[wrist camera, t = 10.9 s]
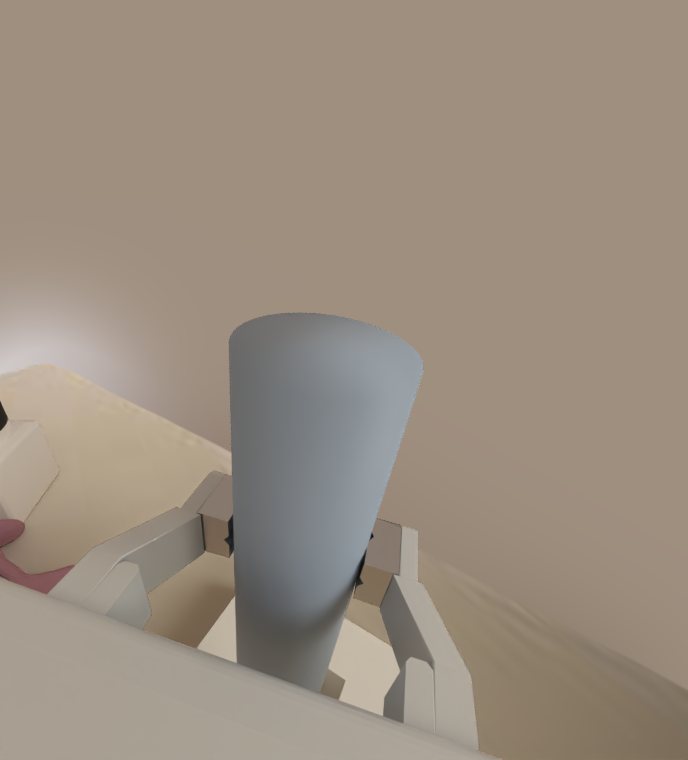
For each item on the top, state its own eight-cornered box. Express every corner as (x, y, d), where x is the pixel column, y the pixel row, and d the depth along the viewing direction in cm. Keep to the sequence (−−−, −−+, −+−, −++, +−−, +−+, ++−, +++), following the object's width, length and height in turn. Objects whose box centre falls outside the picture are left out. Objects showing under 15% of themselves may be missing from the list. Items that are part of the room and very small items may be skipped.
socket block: (389, 680, 23) (404, 654, 21) (305, 1016, 13) (317, 1033, 11) (256, 594, 27) (257, 564, 24) (112, 808, 17) (92, 790, 15)
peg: (343, 676, 14) (462, 371, 7) (261, 756, 12) (294, 425, 4) (298, 596, 17) (345, 308, 9) (223, 648, 14) (200, 319, 7)
